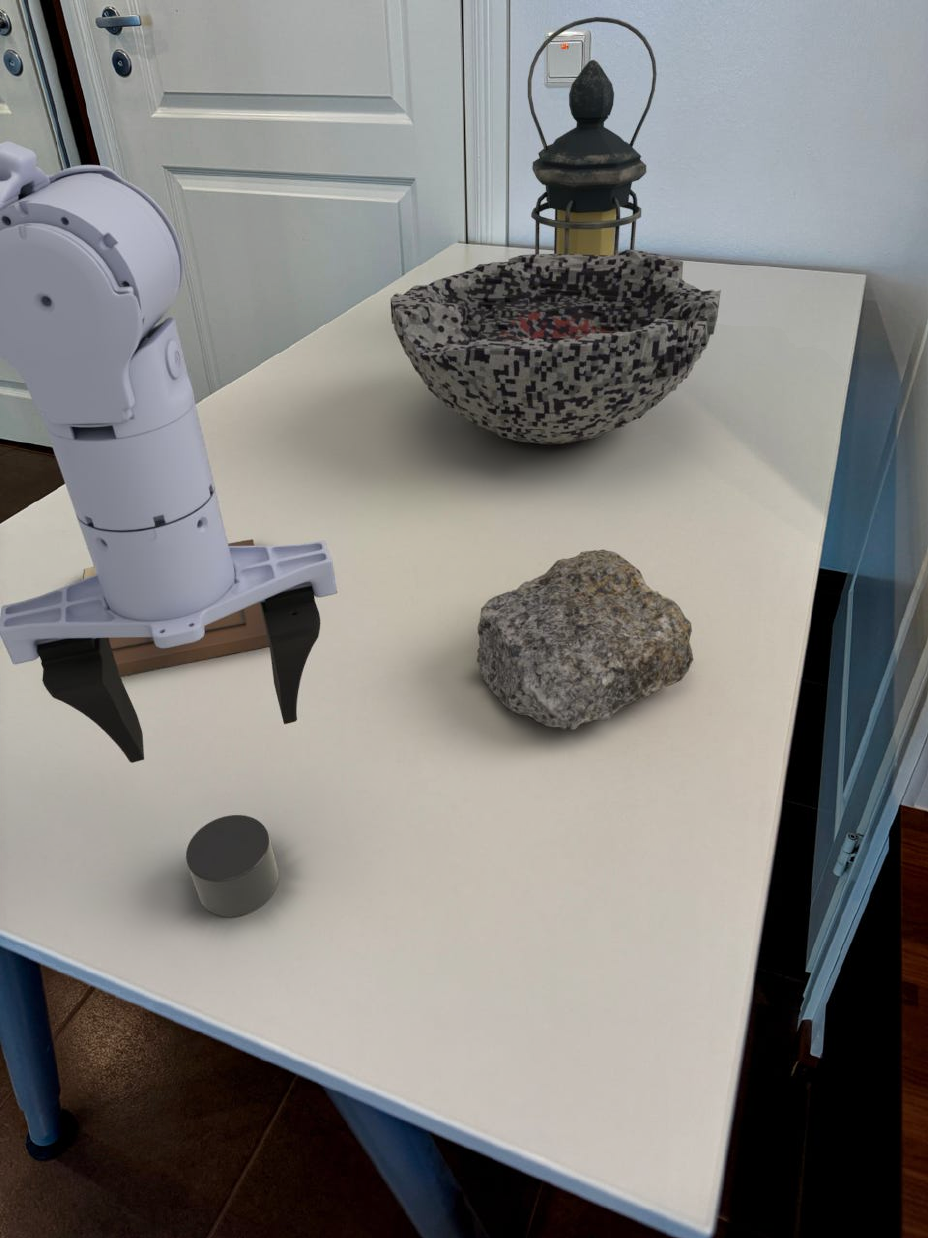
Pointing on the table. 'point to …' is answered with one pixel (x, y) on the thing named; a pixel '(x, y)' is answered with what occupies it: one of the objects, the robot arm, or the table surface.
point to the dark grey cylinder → (232, 865)
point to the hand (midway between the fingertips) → (213, 729)
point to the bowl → (556, 341)
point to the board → (218, 640)
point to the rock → (582, 641)
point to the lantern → (588, 164)
